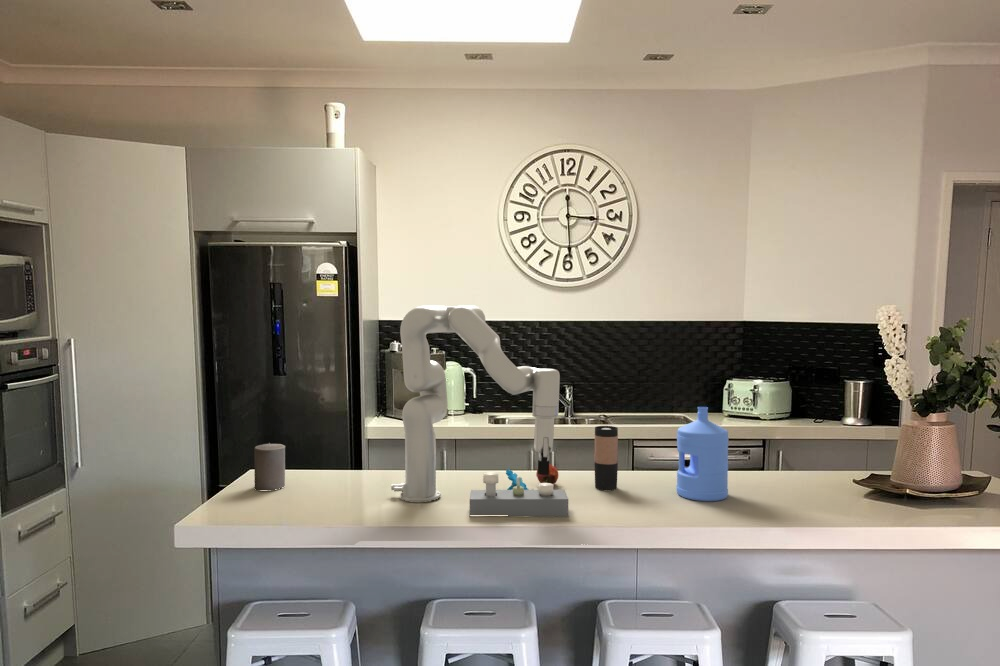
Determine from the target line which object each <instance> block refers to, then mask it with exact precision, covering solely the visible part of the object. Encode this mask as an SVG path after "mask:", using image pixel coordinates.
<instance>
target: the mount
mask: <svg viewBox="0 0 1000 666" xmlns="http://www.w3.org/2000/svg"><path fill="white" fill-rule="evenodd" d="M469 492H470V493H469V516H470V515H508V516H534V517H535V518H536V517H537V518H541V517H542V518H543V517H546V518H547V517H548V518H550V517H555V518H556V517H558V518H562V517H566V518H567V517H569V497H568V495H567V492H566V490H565V489H553V494H551V496H541V494H539V493H538V489H529V490H524V495H522V496H515V495H513V489H512V490H507V489H496V496H486V489H470V491H469ZM534 517H533V518H534Z"/></svg>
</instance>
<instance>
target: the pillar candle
mask: <svg viewBox="0 0 1000 666" xmlns="http://www.w3.org/2000/svg"><path fill="white" fill-rule="evenodd" d="M253 474H254V480H253V481H254V487H253V489H254V488H255V489H256V490H255V489H254V490H255V491H257V490H275V489H279V488H282V487H284V486H286V445H284V444H281V443H270V442H268V443H263V444H259V445H256V446H255V447H254V473H253ZM284 488H285V487H284ZM275 491H276V490H275Z"/></svg>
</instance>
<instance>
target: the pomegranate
mask: <svg viewBox="0 0 1000 666" xmlns="http://www.w3.org/2000/svg"><path fill="white" fill-rule="evenodd" d="M535 476H536V478H537V480H538V482H539V484H540V483H551V484H553V485H555V484H556V483H557V481H558V479H559V470H558V468H557V467H556V466H554V465H553V464H551V463H549V475H539V474H538V468H537V470H536V475H535Z"/></svg>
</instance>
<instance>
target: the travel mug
mask: <svg viewBox="0 0 1000 666" xmlns="http://www.w3.org/2000/svg"><path fill="white" fill-rule="evenodd" d="M618 432H619V428H618V426H612V425H598V426H595V427H594V457H593V458H594V459H593V460H594V462H593V463H594V464H593V465H594V488H595V489H596V490H599V491H604V490H611V491H615V490H617V489H616V488H618V471H619V470H618V468H619V467H618V465H619V460H618V459H619V456H618V455H619V448H618V447H619V441H618V439H619V437H618V436H619V434H618ZM614 489H615V490H614Z"/></svg>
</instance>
